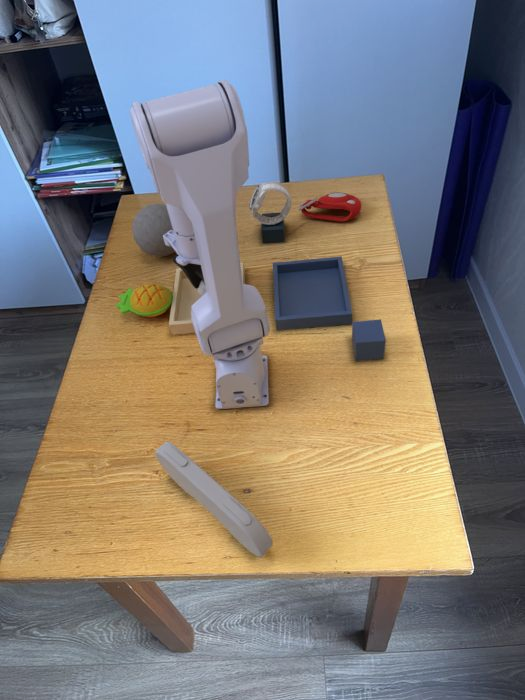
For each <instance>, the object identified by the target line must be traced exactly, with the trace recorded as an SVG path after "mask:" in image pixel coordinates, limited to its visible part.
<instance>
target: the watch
mask: <svg viewBox="0 0 525 700" xmlns="http://www.w3.org/2000/svg"><path fill="white" fill-rule="evenodd" d="M269 191H270V192H272V191H274V192H278V193H281V194H283V195H284V196H285V197H286V201H285V204H284V207H283V208H282V209H281V211H279V212H265V213H259V212H258V211H259V210H260V209H261V207H262V205H263V203H264V200H265V198H266V194H267V192H269ZM291 206H292V198H291V193H290V191H289V190H288V189H287V187H286V186H285V185H283V184H281V183H279V182H274V181H270V182H269V181H268V182H263V183H262V184H258V185H257V186H256V187H255V189H254V192H253V194H252V195H251V199H250V203H249V211H251V216H252V217H253V218H254V220H255V221H256V222H258V223H260V224H261V225H260V226H261V227H260V233H261V240H262V244H272V243H273V244H275V243H276V244H277V243H285V238H286V237H285V234H286V233H285V231H286V230H285V228H286V227H285V220H286V218H287V216H288V215H289V213H290V210H291V208H292V207H291Z"/></svg>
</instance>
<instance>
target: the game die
mask: <svg viewBox="0 0 525 700" xmlns="http://www.w3.org/2000/svg"><path fill="white" fill-rule="evenodd" d="M198 292H199V293H200V294H201V295H202V296H203V295H204V294H205V293H206V292H207V291H206V287H205V284H204V282H203V281H202V280H201V282H200V285H199V289H198Z"/></svg>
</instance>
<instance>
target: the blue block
mask: <svg viewBox="0 0 525 700" xmlns="http://www.w3.org/2000/svg"><path fill="white" fill-rule="evenodd" d="M383 326H384V325H383V323H382V319H381V318H380V319H370V320H369V319H367V320H356V321H352V324H351V344H352V350H353V354H354V355H353V356H354V361H355V362H361V361H373V360H384V358H385V350H386V343H387V339H386V335H385V330H384V327H383Z"/></svg>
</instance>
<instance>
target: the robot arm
mask: <svg viewBox="0 0 525 700" xmlns="http://www.w3.org/2000/svg"><path fill="white" fill-rule="evenodd" d="M129 115H130V119H131V123H132V127H133V130H134V133H135V136H136V139H137V142H138V145H139V149H140V153H141V154H142V156H143V160H144V163H145V166H146V168H147V170H148V171H149V174H150V177H151V180H152V183H153V185H154V189H155V191H156V193H157V194H159V195H160V198H161V200H162V203H163V204H165V205H166V207H167V210H168V214H169V217H170V221H171V224H172V228H173V230H170V231H169V232H167V233H166V234H165V235H163V238H164V242H165V245H167V246H172V248H173V249H174V250H175V252H174V253H176V254H174V255H173V256H172V258H171V259H172V262H173V263H174V264H175V265H177V266H178V268H181V269H182V270H183V272H184V273H185V274H186V276H187V277H188V279H189V280H190V282H191V284H192V285H193V287H194V288H196V289H197V288H198V287H199V285H200V282H201V280H202V281H203V282H204V284H205V287H206V291H207V292H206V293H205V294H204V295H203V296H202V297H201V298H200V299H198V300H197V301H196V302H195V303H194V304H193V305H192V306H191V308H192V311H191V315H192V317H191V320H192V323H193V326H194V330H195V333H194V334H195V336H196V338H197V341H198V344H199V347H200V350H201V352H202V354H204V355H206V357H210V356H211V357H212V360H213V363H214V367H215V387H216V389H215V405H214V406H215V408H216V410H226V409H239V408H240V409H241V408H253V407H266V406H268V405H269V403H270V401H269V400H270V399H269V397H270V396H269V371H268V370H269V369H268V365H269V364H268V356H267V355H264V354H262V348H261V347H262V346H263V344H264V340H263V338H267V337H268V336H269V333H270V331H271V325H270V320H269V316H268V313H267V308H266V305H265V302H264V299H263V298H262V296H261V293H260V292H259V290H258V289H257V288H256V286H254V285H251V284H246V283H245V284H242V276H241V266H240V262H241V257H240V248H239V247H240V246H239V237H238V228H237V193H238V191H239V190H240V189H241V188H242V187H243V185H244V184H246V182H247V181H248V180H249V178H250V177H249V176H250V175H249V167H250V153H249V152H250V151H249V135H248V129H247V124H246V119H245V115H244V110H243V107H242V104H241V100H240V97H239V95H238V92H237V90H236V88H235V87H234V86H233V85H232V84H231V83H229V81H228V80H226V79H220V80H218V82H217V83H214V84H210V85H205V86H202V87H197V88H194V89H190V90H186V91H182V92H178V93H175V94H170V95H167V96H166V95H165V96H163V97H158V98H155V99H151V100H147V101H143V102H139V101H135V102H133V103H132V107H131V108H130V109H129Z"/></svg>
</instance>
